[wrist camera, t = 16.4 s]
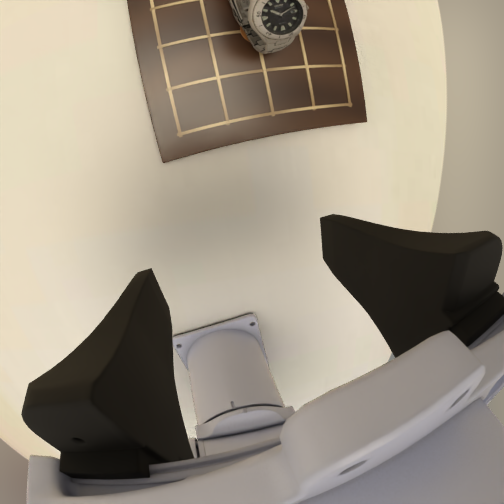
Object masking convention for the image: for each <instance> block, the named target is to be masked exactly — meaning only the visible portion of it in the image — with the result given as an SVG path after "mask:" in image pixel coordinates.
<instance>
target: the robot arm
mask: <svg viewBox="0 0 504 504" xmlns="http://www.w3.org/2000/svg"><path fill="white" fill-rule="evenodd" d="M320 224H321V236H322V251H323V259H324V261H325V262H326V264H327V266H328V267H329V269H330V270H331V271H332V273H333V274H334V276H335V277H336V278H337V279H338V280H339V281H340V282H341V284H342V285H343V286H344V287H345V288H346V289H347V290H348V291H349V292H350V293H351V295H352V296H353V297H354V298H355V299H356V300H357V301H358V302H359V303H360V305H361V306H362V307H363V308H364V309H365V310H366V312H367V313H368V314H369V316H370V317H371V319H372V320H373V322H374V323H375V325H376V326H377V328H378V329H379V331H380V332H381V334H382V335H383V337H384V339H385V340H386V342H387V344H388V345H389V347H390V349H391V351H392V353H393V355H394V356H395V358H394V359H393V360H391V361H389V362H387V363H385V364H383V365H382V366H380V367H378V368H376V369H374V370H372V371H370V372H368V373H366V374H364V375H362V376H360V377H358V378H356V379H354V380H352V381H350V382H348V383H346V384H343V385H341V386H339V387H337V388H335V389H332V390H330V391H328V392H326V393H325V394H323V395H321V396H319V397H317V398H316V399H314V400H312V401H310V402H308V403H306V404H304V405H303V406H302V407H301V408H300V409H299V410H297V411H296V412H295V411H294V409H293V406H289V407H285V405H284V403H283V400H282V398H281V396H280V393H279V391H278V389H277V386H276V384H275V382H274V379H273V377H272V374H271V372H270V369H269V365H268V361H267V357H266V353H265V350H264V346H263V342H262V338H261V334H260V330H259V326H258V322H257V318H256V316H255V315H254V314H248V315H244V316H241V317H238V318H235V319H232V320H229V321H225V322H222V323H219V324H215V325H212V326H209V327H205V328H202V329H199V330H195V331H192V332H188V333H185V334H181V335H177V336H174V337H173V338H172V323H171V317H170V310H169V306H168V304H167V302H166V300H165V298H164V295H163V293H162V291H161V289H160V286H159V284H158V282H157V280H156V277H155V275H154V273H153V271H152V268H150V269H147V270H144V271H141V272H138V273H137V274H136V275H135V276H134V278H133V279H132V280H131V282H130V283H129V285H128V286H127V287H126V289H125V290H124V292H123V293H122V295H121V296H120V298H119V299H118V300H117V302H116V303H115V304H114V306H113V307H112V308H111V310H110V311H109V312H108V314H107V315H106V316H105V318H104V319H103V320H102V321H101V323H100V324H99V325H98V326H97V327H96V328H95V330H94V331H93V332H92V333H91V334H90V335H89V336H88V337H87V338H86V339H85V340H84V341H83V342H82V343H81V344H80V345H79V346H78V347H77V348H76V349H75V350H74V351H73V352H71V353H70V354H69V355H68V356H67V357H66V358H64V359H63V360H62V361H61V362H59V363H58V364H57V365H56V366H54V367H53V368H52V369H50V370H49V371H47V372H46V373H44V374H43V375H41V376H40V377H38V378H37V379H35V380H34V381H32V382H31V383H29V385H28V389H27V393H26V397H25V401H24V405H23V409H22V414H21V415H22V418H23V420H24V422H25V423H26V425H27V426H28V427H29V428H30V429H31V430H32V431H33V432H34V433H35V434H37V435H38V436H39V437H41V438H42V439H43V440H45V441H46V442H47V443H49V444H50V445H52V446H53V447H55V448H56V449H58V450H59V451H61V455H60V459H58V458H55V457H50V456H38V455H30V458H29V468H28V469H29V470H28V483H27V504H504V426H503V425H502V424H501V422H500V421H499V420H498V418H497V417H496V416H495V415H494V413H493V412H492V411H491V410H490V408H489V407H488V406H487V404H488V403H489V402H490V401H491V400H492V399H493V398H494V397H495V396H496V395H497V394H498V392H499V391H500V390H501V389H502V388H503V387H504V293H503V295H501V294H500V293H499V292H497V291H498V289H499V285H498V284H496V283H495V282H494V279H495V276H496V273H497V270H498V266H499V263H500V260H501V255H502V242H501V240H500V238H499V237H497V236H496V235H495V234H493V233H491V232H489V231H479V232H468V233H430V232H419V231H411V230H404V229H398V228H393V227H389V226H384V225H379V224H375V223H371V222H367V221H363V220H359V219H355V218H351V217H347V216H342V215H335V214H332V215H328V216H325V217H321V218H320ZM251 322H253V323H251ZM250 323H251V324H250ZM177 344H181V345H177ZM173 346H174V348H175V350H176V351H177V353H178V355H179V357H180V358H181V360H182V362H183V363H184V365H185V367H186V368H187V370H188V372H189V377H190V384H191V390H192V396H193V402H194V408H195V414H196V419H197V424H198V425H196V426H195V429H196V434H197V439H198V441H197V439H196V438H189V439H188V437H187V433H186V429H185V426H184V422H183V418H182V414H181V410H180V405H179V401H178V396H177V391H176V385H175V379H174V366H173Z"/></svg>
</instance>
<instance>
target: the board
mask: <svg viewBox="0 0 504 504" xmlns="http://www.w3.org/2000/svg"><path fill="white" fill-rule="evenodd" d="M304 1H305V3H306V5H307V6H308V7H309V9H308V10H307V17H306V20H305V23H304V26H303V28H302V30H301V31H300V33H299V34H298V35H297V36H295V39H294V40H293V42H292V43H291V44H290V45H289V46H287V47H286V48H284V49H282V50H280V51H277V52H274V53H267V54H263V53H260V52H258V51H256V50H255V49H254V47H253V46H252V44H251V42H250V41H249V40H248V38H247V35H246V34H245V32H244V30H243V29H242V27H241V26H240V25H239V24H238V22H237V21H236V19H235V18H234V15H233V14H234V13H233V9H232V7H231V6H230V2H229V0H127V3H128V9H129V15H130V21H131V27H132V33H133V38H134V43H135V49H136V54H137V59H138V63H139V68H140V73H141V78H142V82H143V87H144V91H145V95H146V100H147V104H148V108H149V112H150V116H151V120H152V124H153V128H154V132H155V136H156V139H157V143H158V147H159V151H160V154H161V158H162V162H163V163H166V162H169V161H172V160H176V159H179V158H182V157H186V156H189V155H193V154H196V153H200V152H204V151H208V150H211V149H215V148H219V147H223V146H227V145H231V144H236V143H240V142H244V141H249V140H254V139H258V138H263V137H268V136H273V135H278V134H284V133H289V132H295V131H301V130H307V129H314V128H321V127H328V126H336V125H344V124H353V123H363V122H367V116H366V108H365V100H364V92H363V86H362V79H361V73H360V67H359V62H358V56H357V51H356V46H355V41H354V37H353V32H352V28H351V24H350V20H349V16H348V12H347V8H346V5H345V1H344V0H304Z"/></svg>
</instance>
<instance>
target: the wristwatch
mask: <svg viewBox="0 0 504 504" xmlns="http://www.w3.org/2000/svg"><path fill="white" fill-rule="evenodd" d="M229 2H230V6H231V7H232V9H233V13H234V14H233V15H234V18H235V19H236V21H237V22H238V24H239V25H240V26H241V27H242V29H243V30H244V32H245V34H246V35H247V38H248V40H249V41H250V42H251V44H252V46H253V47H254V49H255V50H256V51H258V52H260V53H263V54H267V53H274V52H277V51H280V50H282V49H284V48H286V47H287V46H289V45H290V44H291V43H292V42H293V40H294V39H295V36H297V35H298V34H299V33H300V31H301V30H302V28H303V26H304V23H305V20H306V17H307V10H308V9H309V7H308V6H307V5H306V3H305V1H304V0H229Z"/></svg>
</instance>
